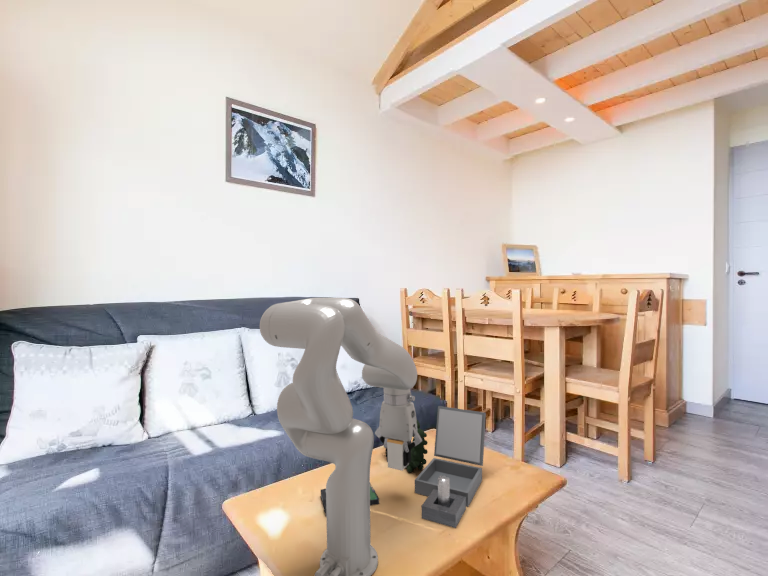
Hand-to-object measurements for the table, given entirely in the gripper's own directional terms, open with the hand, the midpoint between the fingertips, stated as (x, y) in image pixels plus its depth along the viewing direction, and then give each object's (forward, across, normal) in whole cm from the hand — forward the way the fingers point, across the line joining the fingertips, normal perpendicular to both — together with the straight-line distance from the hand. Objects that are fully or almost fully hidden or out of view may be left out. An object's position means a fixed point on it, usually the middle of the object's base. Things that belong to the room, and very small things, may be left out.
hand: (398, 461), depth 109 cm
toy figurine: (+11, +8, -20) cm, 25 cm away
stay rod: (+11, -14, +2) cm, 18 cm away
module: (+1, 0, 0) cm, 1 cm away
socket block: (+11, -14, +2) cm, 18 cm away
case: (+11, -11, -12) cm, 19 cm away
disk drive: (+11, +12, +7) cm, 18 cm away
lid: (-2, -11, -21) cm, 24 cm away
